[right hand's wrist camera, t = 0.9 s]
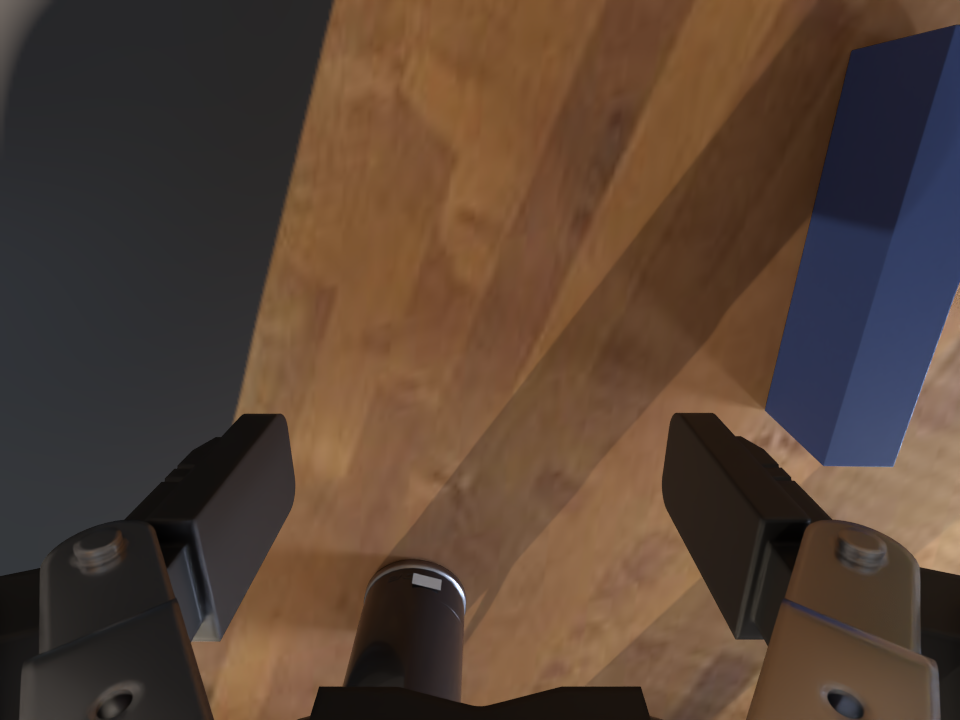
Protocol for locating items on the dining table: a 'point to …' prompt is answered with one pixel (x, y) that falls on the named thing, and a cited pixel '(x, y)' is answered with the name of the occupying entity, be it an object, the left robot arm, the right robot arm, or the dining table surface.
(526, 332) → the dining table surface
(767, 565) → the right robot arm
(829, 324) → the bar
